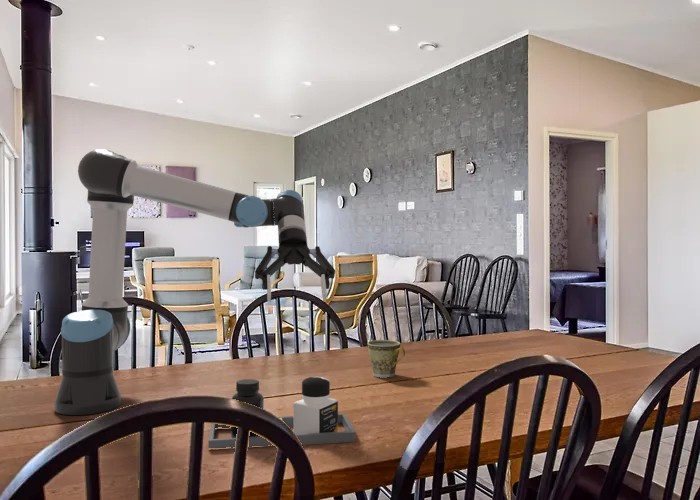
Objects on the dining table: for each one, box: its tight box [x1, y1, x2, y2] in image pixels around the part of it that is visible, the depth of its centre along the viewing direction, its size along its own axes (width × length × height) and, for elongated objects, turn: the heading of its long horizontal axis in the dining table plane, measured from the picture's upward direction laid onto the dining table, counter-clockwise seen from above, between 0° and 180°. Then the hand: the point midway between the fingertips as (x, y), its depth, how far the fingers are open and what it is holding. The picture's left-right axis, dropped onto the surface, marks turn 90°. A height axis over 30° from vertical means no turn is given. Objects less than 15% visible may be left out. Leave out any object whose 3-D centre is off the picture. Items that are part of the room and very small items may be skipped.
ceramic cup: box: [367, 339, 406, 379], centre depth 181 cm, size 13×10×10 cm
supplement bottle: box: [230, 378, 264, 438], centre depth 127 cm, size 7×7×12 cm
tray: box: [207, 412, 357, 449], centre depth 128 cm, size 30×13×2 cm, turn 100°
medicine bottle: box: [292, 376, 339, 434], centre depth 130 cm, size 7×7×12 cm
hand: (297, 298), depth 146 cm, fingers open, 13 cm apart
